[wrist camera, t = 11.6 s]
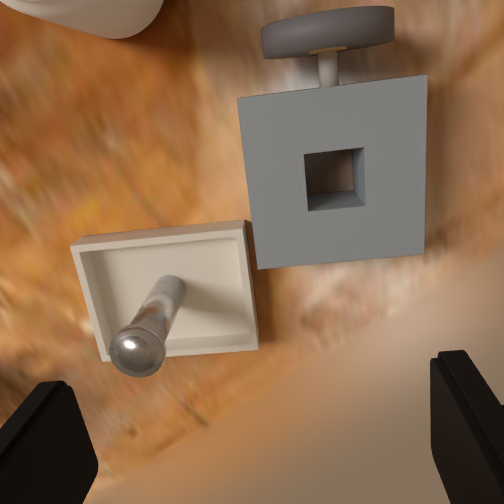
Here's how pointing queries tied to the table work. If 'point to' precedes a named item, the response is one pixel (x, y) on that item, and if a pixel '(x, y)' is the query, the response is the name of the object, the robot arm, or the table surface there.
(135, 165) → the table surface
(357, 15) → the tensioner block
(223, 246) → the tray
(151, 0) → the beverage can
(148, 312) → the lock pin
